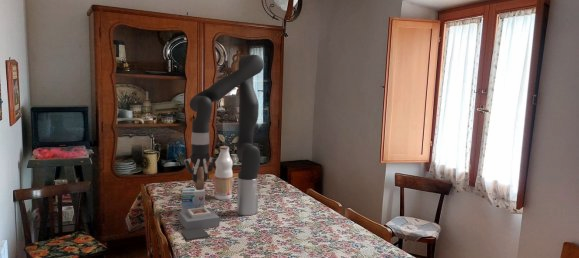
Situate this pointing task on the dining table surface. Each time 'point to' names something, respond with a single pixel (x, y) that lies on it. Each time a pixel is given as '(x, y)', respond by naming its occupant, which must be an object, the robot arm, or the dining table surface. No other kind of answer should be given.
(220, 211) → the dining table surface
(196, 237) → the mat
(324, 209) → the dining table surface
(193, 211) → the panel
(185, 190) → the light bulb box
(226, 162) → the fruit juice
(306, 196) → the dining table surface
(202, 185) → the dowel
